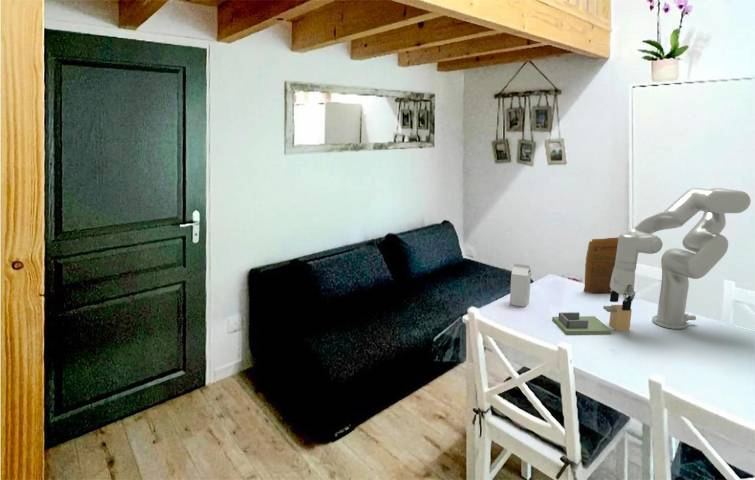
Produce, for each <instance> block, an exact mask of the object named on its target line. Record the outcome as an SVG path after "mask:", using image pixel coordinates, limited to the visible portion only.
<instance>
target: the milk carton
mask: <svg viewBox="0 0 755 480" xmlns="http://www.w3.org/2000/svg"><path fill="white" fill-rule="evenodd" d="M531 276H532V270H531V266H530V265H529V264H522V263H513V267H512V271H511V276H510V290H509V291H510V293H509V305H511V306H517V307H523V308H525V307H526V306H527V305H528V304H529V303H530V291H531V279H532V277H531Z"/></svg>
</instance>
